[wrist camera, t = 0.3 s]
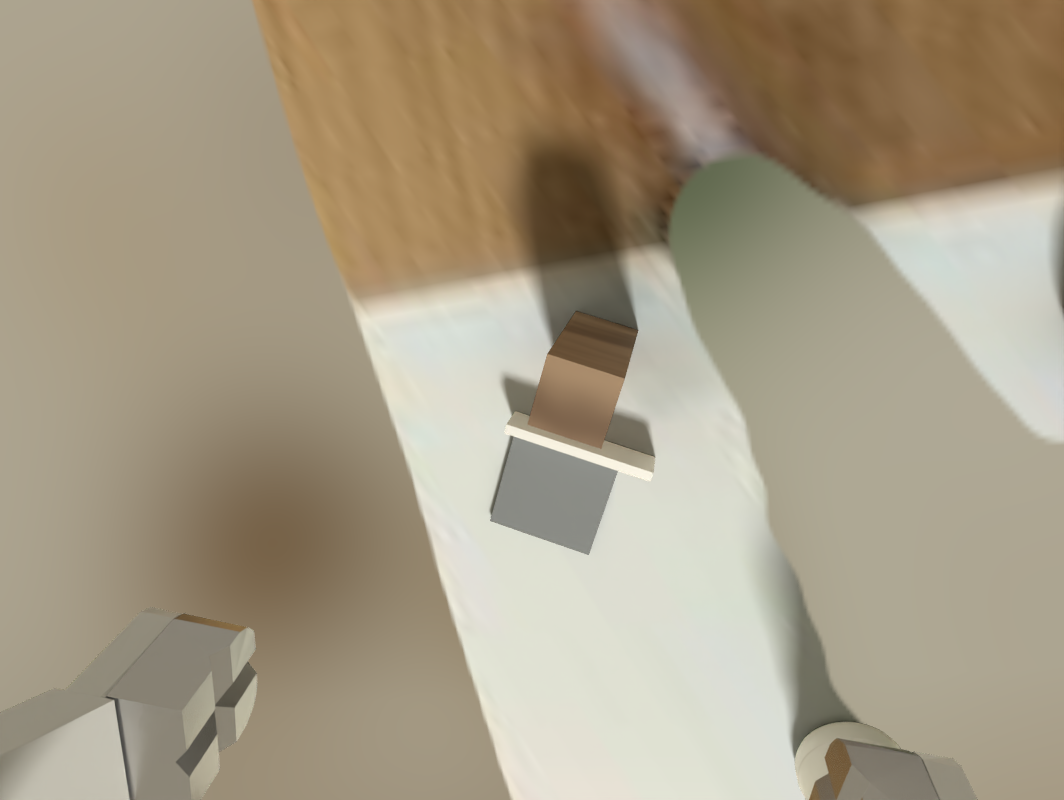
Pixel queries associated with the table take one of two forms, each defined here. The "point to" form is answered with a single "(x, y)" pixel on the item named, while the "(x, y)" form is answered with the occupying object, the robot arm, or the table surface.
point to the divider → (584, 449)
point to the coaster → (552, 495)
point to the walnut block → (583, 379)
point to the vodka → (817, 744)
